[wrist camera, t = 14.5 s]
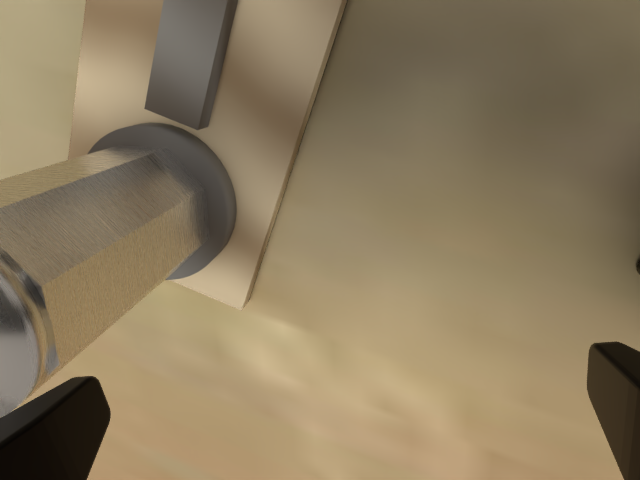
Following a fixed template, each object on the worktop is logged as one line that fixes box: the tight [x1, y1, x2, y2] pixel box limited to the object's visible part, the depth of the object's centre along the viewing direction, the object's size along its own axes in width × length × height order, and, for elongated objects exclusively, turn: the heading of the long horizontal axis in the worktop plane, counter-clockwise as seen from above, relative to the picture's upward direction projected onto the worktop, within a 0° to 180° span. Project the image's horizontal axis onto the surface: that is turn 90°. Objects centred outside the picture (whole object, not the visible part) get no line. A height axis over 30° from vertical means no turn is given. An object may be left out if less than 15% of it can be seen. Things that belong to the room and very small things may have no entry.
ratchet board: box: [68, 0, 347, 311], centre depth 18 cm, size 20×10×5 cm, turn 161°
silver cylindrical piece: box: [0, 146, 210, 417], centre depth 16 cm, size 6×6×10 cm
